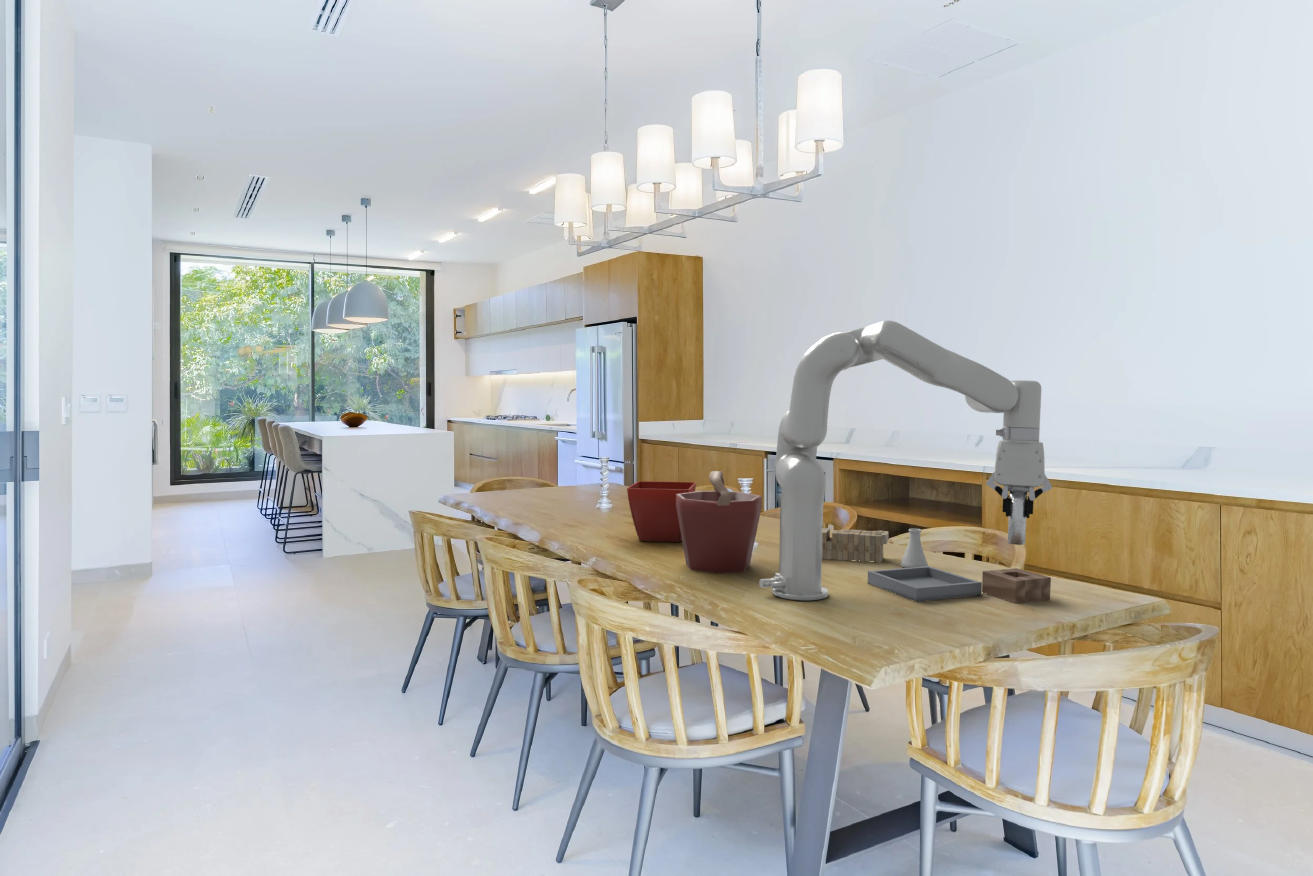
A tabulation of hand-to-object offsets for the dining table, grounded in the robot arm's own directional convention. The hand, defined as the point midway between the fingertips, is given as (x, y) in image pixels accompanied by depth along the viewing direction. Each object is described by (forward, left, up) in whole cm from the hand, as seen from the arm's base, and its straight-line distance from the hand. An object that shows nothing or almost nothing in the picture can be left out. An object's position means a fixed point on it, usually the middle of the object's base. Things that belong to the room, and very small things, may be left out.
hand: (1017, 515), depth 182 cm
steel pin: (0, 0, -6) cm, 6 cm away
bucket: (-52, +50, -19) cm, 74 cm away
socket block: (0, 0, -18) cm, 18 cm away
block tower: (-15, +51, -19) cm, 56 cm away
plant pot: (-51, +92, -19) cm, 107 cm away
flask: (-2, +33, -19) cm, 38 cm away
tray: (-16, +12, -18) cm, 27 cm away
